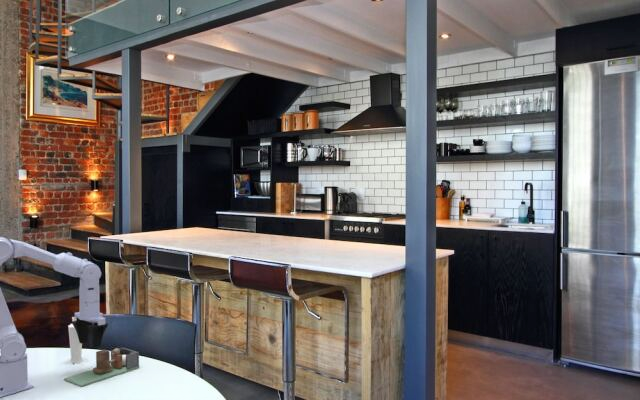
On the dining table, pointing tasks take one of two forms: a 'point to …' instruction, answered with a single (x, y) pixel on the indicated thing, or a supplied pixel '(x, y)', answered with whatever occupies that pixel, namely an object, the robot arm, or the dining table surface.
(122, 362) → the ball
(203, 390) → the dining table surface
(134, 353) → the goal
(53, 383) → the dining table surface
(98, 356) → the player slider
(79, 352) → the perfume bottle
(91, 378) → the pitch mat
